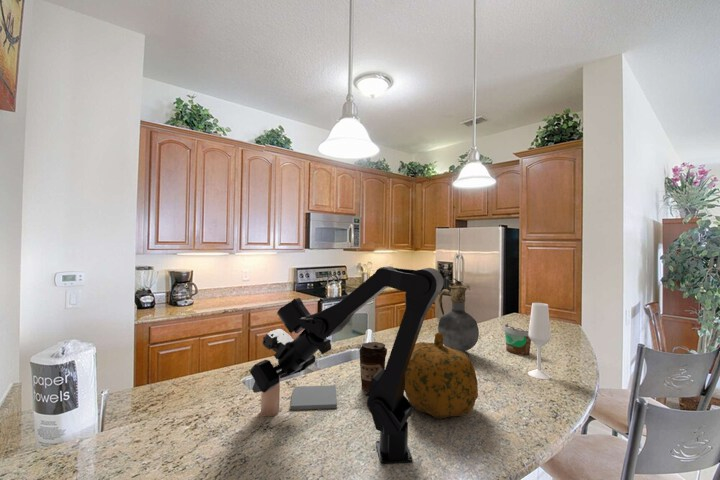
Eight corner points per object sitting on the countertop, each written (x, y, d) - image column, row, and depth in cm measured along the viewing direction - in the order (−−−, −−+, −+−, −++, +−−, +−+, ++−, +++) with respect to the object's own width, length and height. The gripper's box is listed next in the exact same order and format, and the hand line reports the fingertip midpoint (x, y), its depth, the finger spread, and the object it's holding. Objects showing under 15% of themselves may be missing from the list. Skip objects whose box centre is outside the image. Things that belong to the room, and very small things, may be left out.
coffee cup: (384, 396, 89) (385, 350, 89) (355, 393, 91) (356, 348, 91) (387, 383, 97) (388, 341, 98) (361, 380, 99) (362, 339, 99)
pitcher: (461, 362, 116) (462, 281, 116) (428, 346, 133) (430, 276, 134) (482, 358, 121) (484, 280, 121) (448, 343, 138) (449, 275, 138)
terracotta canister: (278, 416, 78) (279, 375, 78) (258, 417, 77) (259, 376, 77) (280, 406, 83) (281, 368, 83) (262, 407, 82) (263, 368, 82)
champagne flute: (530, 377, 104) (531, 305, 105) (525, 369, 111) (526, 301, 111) (553, 380, 102) (554, 306, 103) (547, 372, 109) (548, 303, 109)
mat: (336, 408, 82) (336, 404, 82) (290, 409, 81) (290, 405, 81) (335, 388, 93) (335, 385, 93) (294, 389, 92) (294, 386, 92)
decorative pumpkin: (398, 423, 74) (403, 337, 76) (399, 390, 95) (403, 323, 97) (487, 436, 71) (491, 346, 73) (468, 399, 92) (471, 329, 94)
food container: (496, 348, 133) (496, 324, 133) (506, 346, 136) (506, 323, 136) (522, 358, 122) (522, 332, 122) (532, 356, 125) (533, 331, 125)
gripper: (307, 313, 87) (275, 347, 92) (257, 329, 70) (221, 369, 75) (331, 347, 83) (296, 380, 88) (284, 372, 66) (244, 411, 71)
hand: (267, 383), depth 81 cm, fingers open, 9 cm apart
